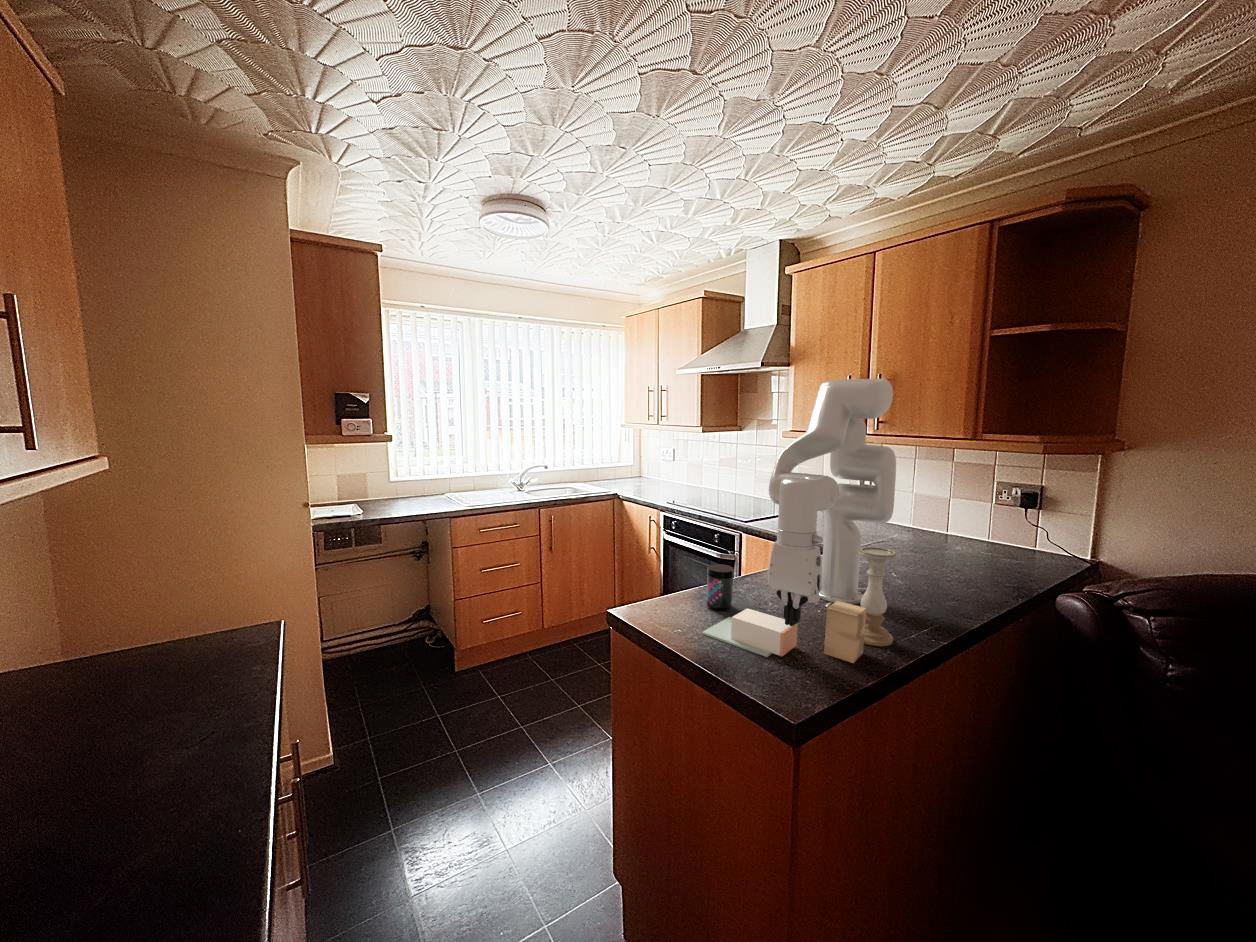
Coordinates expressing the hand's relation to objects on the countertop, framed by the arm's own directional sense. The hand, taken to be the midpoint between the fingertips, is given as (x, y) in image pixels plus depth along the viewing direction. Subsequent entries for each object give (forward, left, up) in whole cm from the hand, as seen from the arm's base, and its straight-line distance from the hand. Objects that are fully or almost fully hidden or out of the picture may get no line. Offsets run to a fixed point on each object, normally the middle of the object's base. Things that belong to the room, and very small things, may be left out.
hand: (791, 623), depth 106 cm
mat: (-1, -11, -7) cm, 13 cm away
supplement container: (-12, -25, -7) cm, 28 cm away
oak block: (-8, +8, -7) cm, 13 cm away
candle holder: (-20, +10, -7) cm, 23 cm away
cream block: (0, 0, -4) cm, 4 cm away
